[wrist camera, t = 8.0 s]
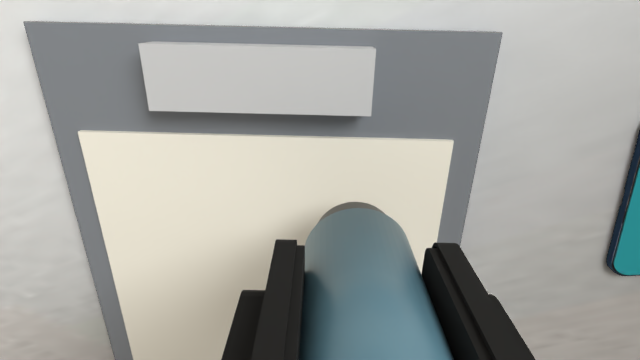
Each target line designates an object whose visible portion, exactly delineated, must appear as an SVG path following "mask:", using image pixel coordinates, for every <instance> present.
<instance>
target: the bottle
mask: <svg viewBox="0 0 640 360" xmlns="http://www.w3.org/2000/svg"><path fill="white" fill-rule="evenodd" d="M299 360H454V357H453V355H452V352H451V350H450V347H449V344H448V342H447V339H446V337H445V334H444V332H443V329H442V326H441V324H440V321H439V319H438V316H437V314H436V311H435V308H434V306H433V303H432V301H431V298H430V295H429V293H428V290H427V288H426V285H425V283H424V280H423V277H422V275H421V272H420V270H419V267H418V265H417V262H416V259H415V257H414V254H413V252H412V249H411V246H410V244H409V241H408V239H407V236H406V234H405V232H404V231H403V229H402V228H401V226H400V225H399V224H398V223H397V222H396V221H395V220H393V219H392V218H391V217H389V216H388V215H386V214H385V213H384V212H383V211H381V210H380V209H379V208H377V207H375V206H373V205H371V204H368V203H363V202H347V203H343V204H340V205H337V206H335V207H333V208H331V209H330V210H329V211H327V212H326V213H325V214H324V215H323V216H322V217H321V219H320V220H319V222H318V223H317V225H316V226H315V227H314V228H313V229H312V231H311V232H310V234H309V236H308V237H307V240H306V243H305V276H304V291H303V306H302V321H301V336H300V351H299Z"/></svg>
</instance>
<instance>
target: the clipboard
mask: <svg viewBox="0 0 640 360" xmlns="http://www.w3.org/2000/svg"><path fill="white" fill-rule="evenodd" d="M24 26H25V29H26V33H27V37H28V40H29V44H30V48H31V51H32V55H33V59H34V62H35V66H36V70H37V73H38V77H39V81H40V84H41V88H42V92H43V96H44V99H45V103H46V107H47V110H48V114H49V118H50V121H51V125H52V129H53V132H54V136H55V140H56V143H57V147H58V151H59V154H60V158H61V162H62V166H63V169H64V173H65V177H66V180H67V184H68V188H69V191H70V195H71V199H72V202H73V206H74V210H75V213H76V217H77V221H78V224H79V228H80V232H81V235H82V239H83V243H84V247H85V250H86V254H87V258H88V261H89V265H90V269H91V272H92V276H93V280H94V283H95V287H96V291H97V294H98V298H99V302H100V305H101V309H102V313H103V317H104V320H105V324H106V328H107V331H108V335H109V339H110V342H111V346H112V350H113V353H114V357H115V360H221V359H222V355H223V352H224V349H225V345H226V342H227V338H228V335H229V332H230V328H231V325H232V321H233V318H234V314H235V311H236V308H237V304H238V301H239V297H240V295H241V292H242V291H243V290H265V289H266V284H267V279H268V275H269V270H270V265H271V260H272V255H273V250H274V246H275V241H276V239H285V240H297V245H305V243H306V240H307V237H308V236H309V234H310V232H311V231H312V229H313V228H314V227H315V226H316V225H317V223H318V222H319V220H320V219H321V217H322V216H323V215H324V214H325V213H326V212H327V211H329V210H330V209H331V208H333V207H335V206H337V205H340V204H343V203H347V202H363V203H368V204H371V205H373V206H375V207H377V208H379V209H380V210H381V211H383V212H384V213H385V214H386V215H388V216H389V217H391V218H392V219H393V220H395V221H396V222H397V223H398V224H399V225H400V226H401V228H402V229H403V231H404V232H405V234H406V236H407V239H408V241H409V244H410V246H411V249H412V252H413V254H414V257H415V259H416V262H417V265H418V267H419V270H420V272H421V274H422V267H423V261H424V254H425V250H426V248H432V246H433V244H434V243H435V242H436V243H457V244H458V245H459V247H460V243H461V238H462V233H463V228H464V223H465V218H466V213H467V208H468V203H469V198H470V193H471V188H472V183H473V178H474V173H475V168H476V163H477V158H478V153H479V148H480V143H481V138H482V133H483V128H484V123H485V118H486V113H487V108H488V103H489V98H490V93H491V88H492V83H493V78H494V73H495V68H496V63H497V58H498V53H499V48H500V43H501V38H502V32H482V31H438V30H395V29H351V28H307V27H263V26H219V25H176V24H132V23H88V22H44V21H26V22H24Z"/></svg>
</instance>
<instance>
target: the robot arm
mask: <svg viewBox="0 0 640 360" xmlns="http://www.w3.org/2000/svg"><path fill="white" fill-rule="evenodd" d="M421 275H422V277H423V280H424V283H425V285H426V288H427V290H428V293H429V295H430V298H431V301H432V303H433V306H434V308H435V311H436V314H437V316H438V319H439V321H440V324H441V326H442V329H443V332H444V334H445V337H446V339H447V342H448V344H449V347H450V350H451V352H452V355H453V357H454V360H535V358H534V357H533V355H532V353H531V352H530V350H529V349H528V347H527V345H526V344H525V342H524V341H523V339H522V337H521V336H520V334H519V333H518V331H517V329H516V328H515V326H514V325H513V323H512V321H511V320H510V318H509V316H508V315H507V313H506V312H505V310H504V308H503V307H502V305H501V304H500V302H499V301H498V299H497V298H496V297H495V296H493V295H488V293H487V292H486V290H485V288H484V287H483V285H482V283H481V282H480V280H479V278H478V277H477V275H476V273H475V272H474V270H473V268H472V267H471V265H470V263H469V262H468V260H467V258H466V257H465V255H464V253H463V252H462V250H461V248H460V247H459V245H458V244H457V243H436V242H435V243H434V244H433V246H432V248H426V250H425V254H424V261H423V267H422V274H421ZM304 276H305V245H297V240H285V239H276V241H275V246H274V250H273V255H272V260H271V265H270V270H269V275H268V279H267V284H266V289H265V290H243V291H242V292H241V295H240V297H239V301H238V304H237V308H236V311H235V314H234V318H233V321H232V325H231V328H230V332H229V335H228V338H227V342H226V345H225V349H224V352H223V355H222V359H221V360H299V351H300V336H301V321H302V306H303V291H304Z"/></svg>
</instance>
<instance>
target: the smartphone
mask: <svg viewBox="0 0 640 360" xmlns="http://www.w3.org/2000/svg"><path fill="white" fill-rule="evenodd" d="M636 143H637V144H636V148H635V152H634V155H633V157H632V158H633V159H632V161H631V165H630V169H629V173H628V177H627V181H626V185H625V193H624V197H623V200H622V204H621V206H620V208H619V212H618V216H617V220H616V223H615V227H614V231H613V236H612V240H611V243H610V247H609V251H608V254H607V261H606V262H607V265H608V266H609V268H610V269H611V270H612V271H614V272H615V273H617V274H619V275H622V276H636V275H640V130H639V134H638V138H637V142H636Z"/></svg>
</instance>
